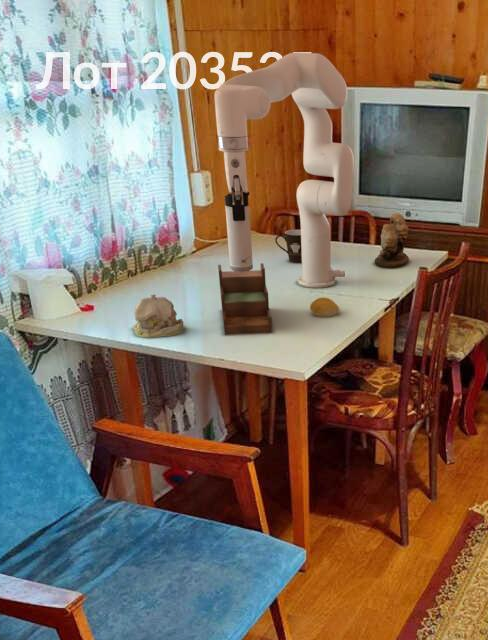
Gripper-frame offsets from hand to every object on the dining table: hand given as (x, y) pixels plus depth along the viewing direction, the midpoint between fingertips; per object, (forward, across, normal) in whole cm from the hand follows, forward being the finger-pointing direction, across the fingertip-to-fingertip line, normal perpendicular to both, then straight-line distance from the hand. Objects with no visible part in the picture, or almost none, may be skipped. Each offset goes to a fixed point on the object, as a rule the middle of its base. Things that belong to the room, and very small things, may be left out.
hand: (238, 217), depth 198 cm
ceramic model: (+29, -5, +24) cm, 38 cm away
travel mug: (+14, 0, 0) cm, 14 cm away
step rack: (+28, 0, 0) cm, 28 cm away
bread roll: (+29, +4, -24) cm, 37 cm away
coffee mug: (+29, +64, -22) cm, 73 cm away
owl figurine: (+29, +57, -56) cm, 85 cm away
